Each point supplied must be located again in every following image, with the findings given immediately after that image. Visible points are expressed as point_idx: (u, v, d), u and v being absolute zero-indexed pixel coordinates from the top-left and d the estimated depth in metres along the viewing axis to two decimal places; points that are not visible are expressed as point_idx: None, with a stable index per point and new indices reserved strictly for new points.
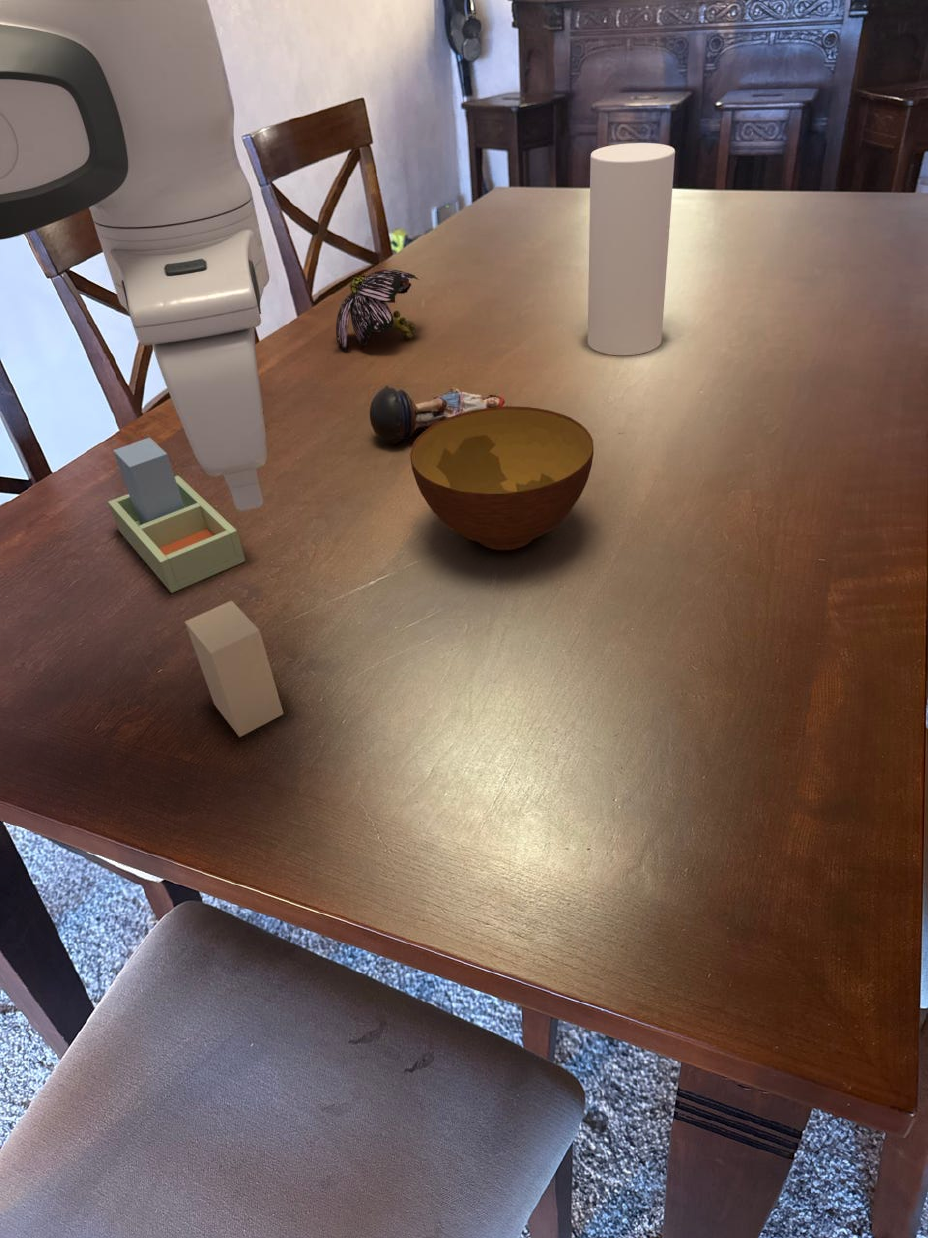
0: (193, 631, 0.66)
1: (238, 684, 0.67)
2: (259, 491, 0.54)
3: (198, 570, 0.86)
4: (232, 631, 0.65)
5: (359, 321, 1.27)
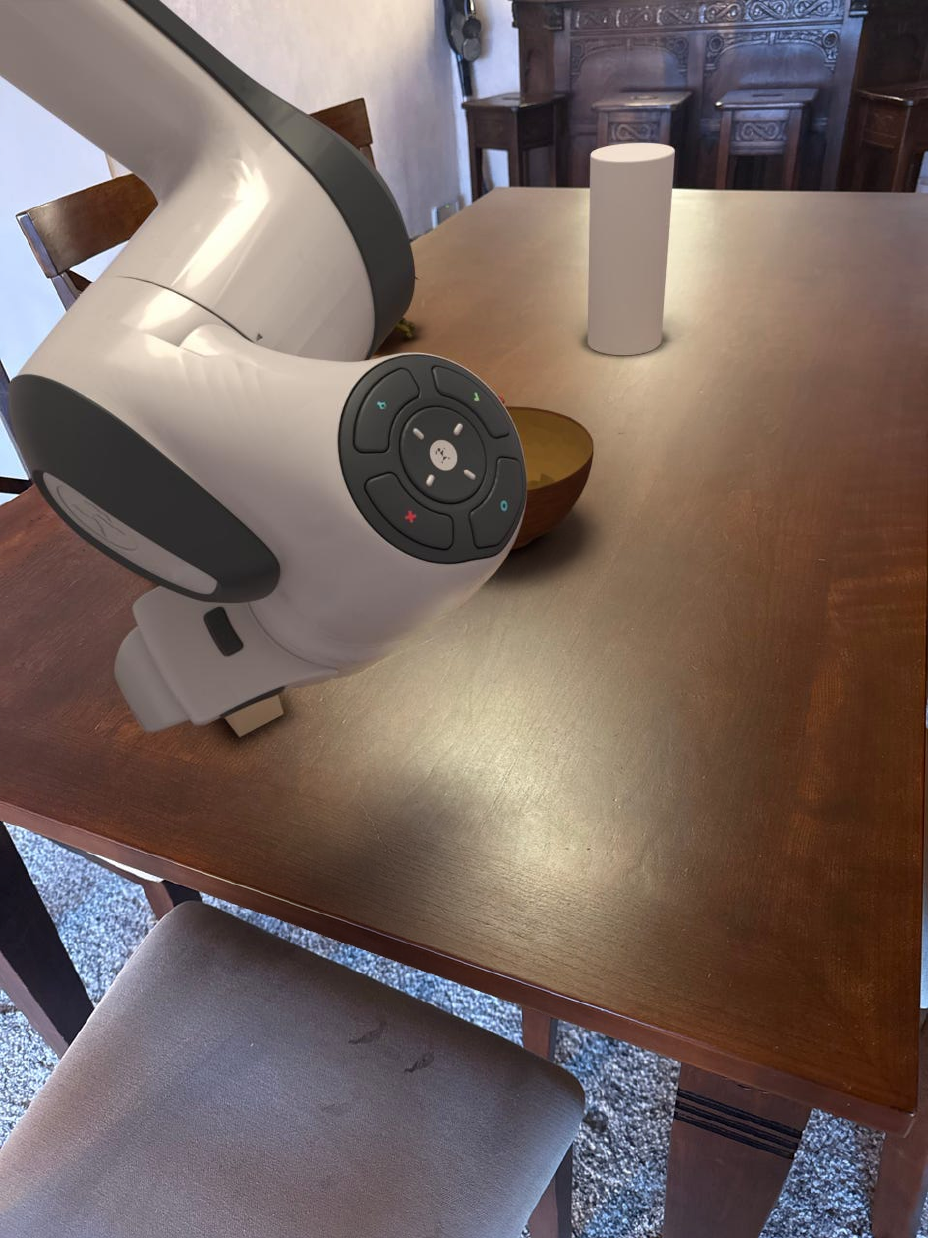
0: None
1: None
2: None
3: None
4: None
5: None
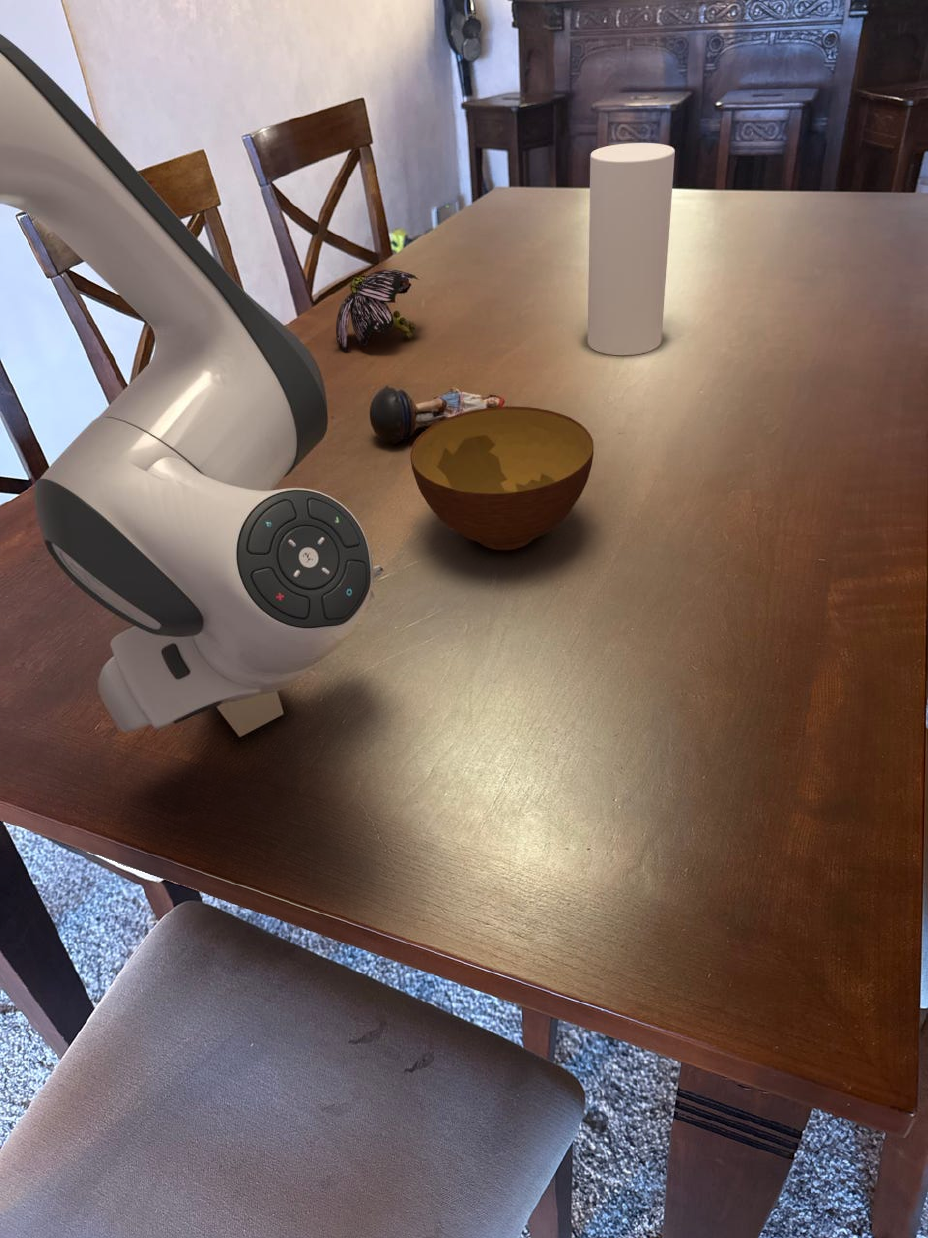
0: None
1: None
2: None
3: None
4: None
5: (359, 321, 1.27)
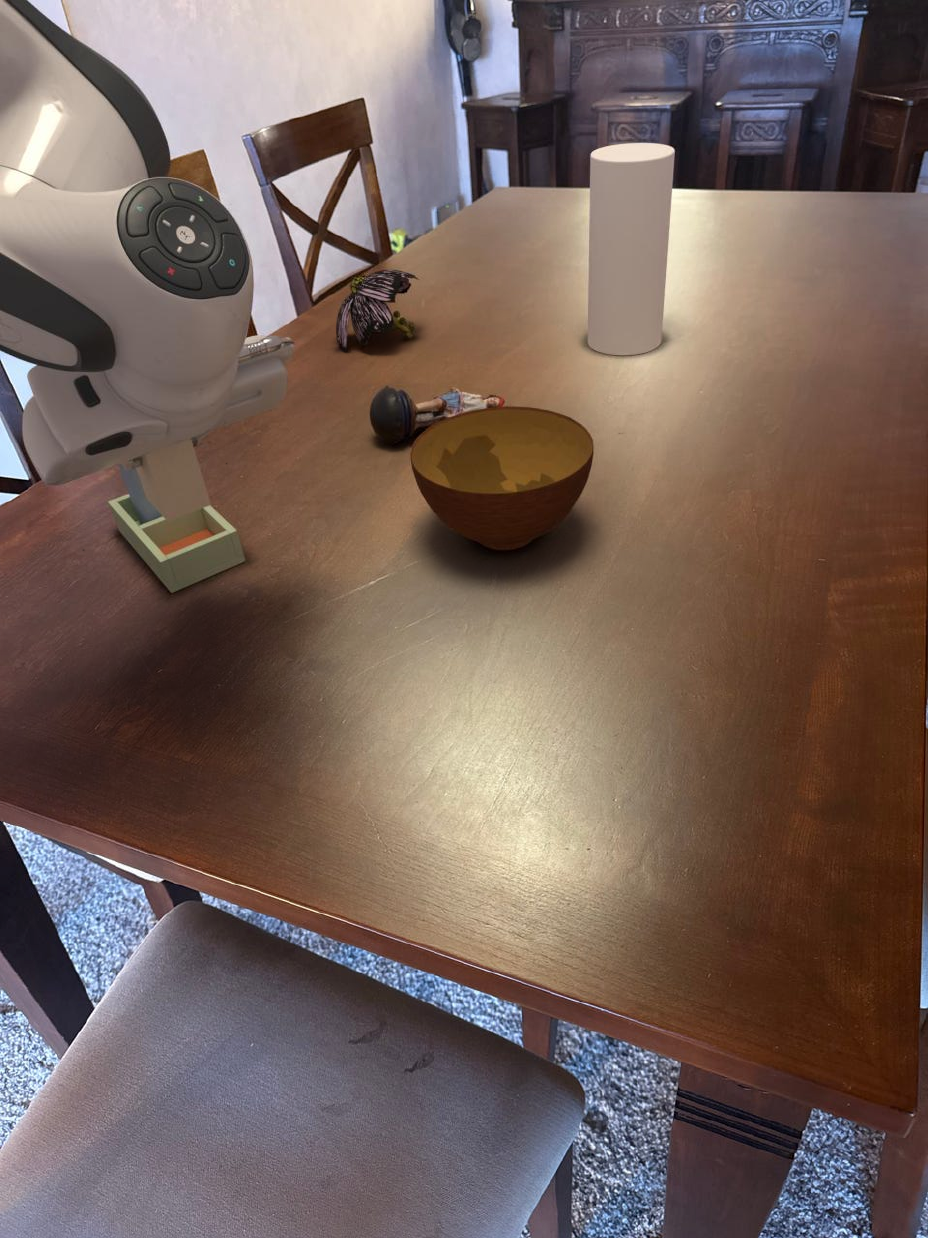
0: None
1: (164, 463, 0.71)
2: (125, 467, 0.71)
3: (198, 570, 0.86)
4: None
5: (359, 321, 1.27)
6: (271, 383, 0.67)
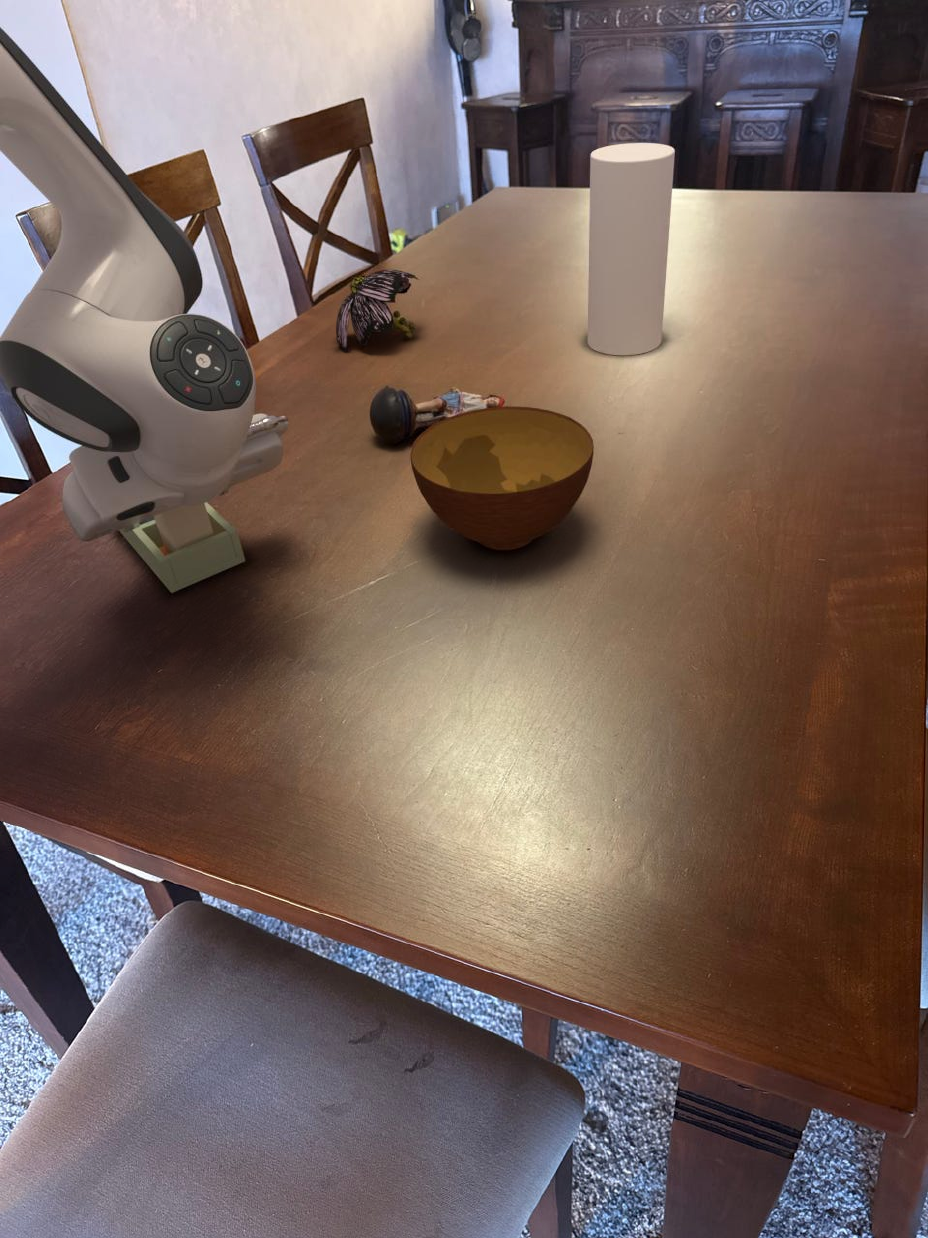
0: None
1: (181, 522, 0.84)
2: (124, 529, 0.83)
3: (198, 570, 0.86)
4: None
5: (359, 321, 1.27)
6: (269, 453, 0.80)
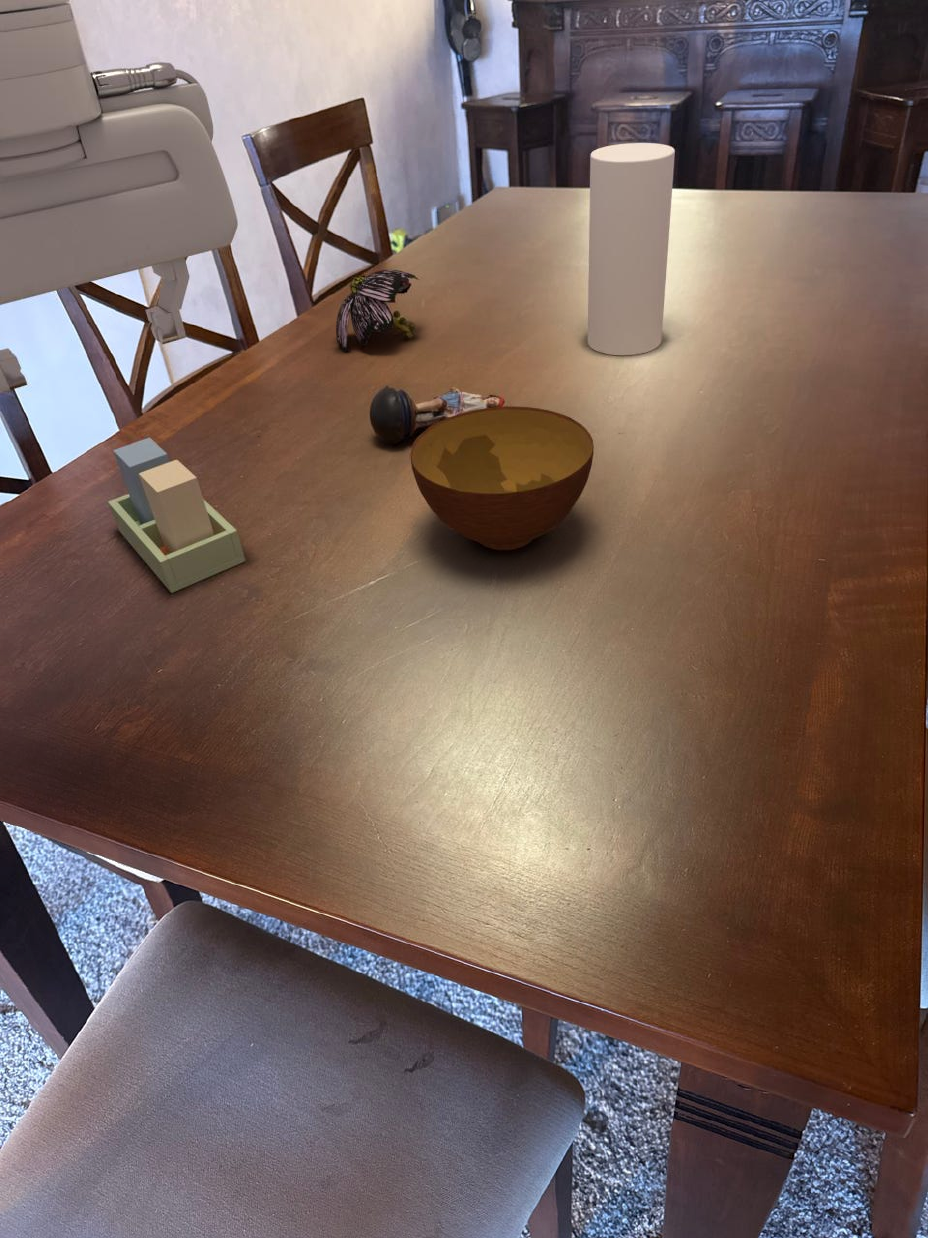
0: (144, 479, 0.83)
1: (181, 522, 0.84)
2: None
3: (198, 570, 0.86)
4: (175, 478, 0.83)
5: (359, 321, 1.27)
6: (181, 137, 0.46)
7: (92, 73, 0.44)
